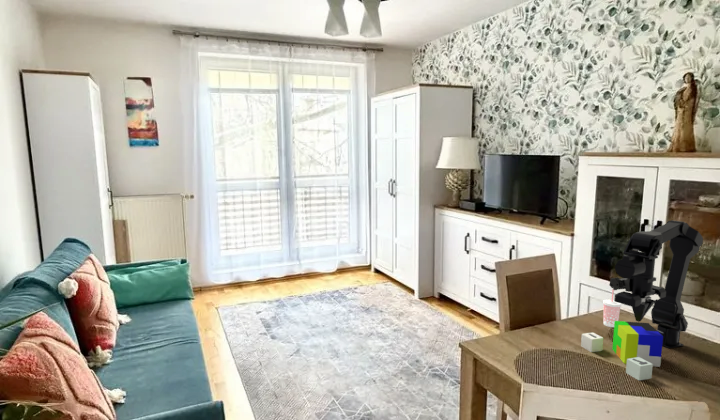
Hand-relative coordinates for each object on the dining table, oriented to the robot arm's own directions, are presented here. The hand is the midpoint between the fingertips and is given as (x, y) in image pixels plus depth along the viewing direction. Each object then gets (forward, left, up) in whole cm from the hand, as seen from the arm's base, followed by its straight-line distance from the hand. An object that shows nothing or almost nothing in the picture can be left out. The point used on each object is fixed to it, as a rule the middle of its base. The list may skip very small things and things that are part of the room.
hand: (638, 321), depth 135 cm
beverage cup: (-13, -23, -13) cm, 29 cm away
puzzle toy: (0, 0, -13) cm, 13 cm away
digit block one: (+8, -9, -12) cm, 17 cm away
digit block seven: (+8, +9, -12) cm, 17 cm away
